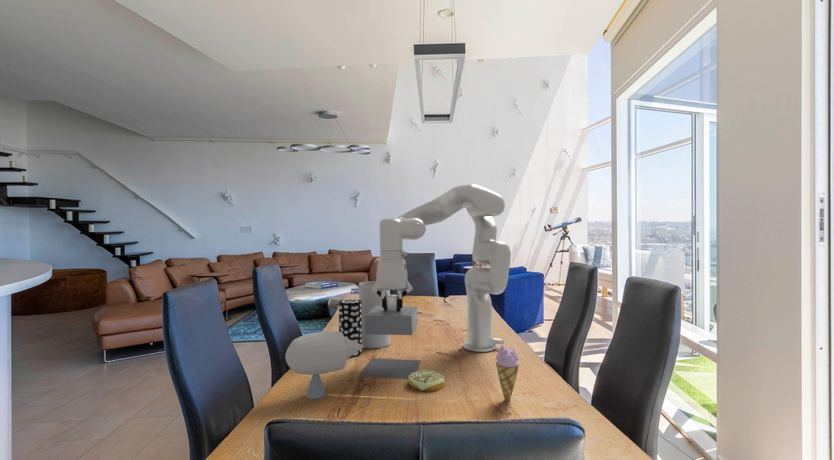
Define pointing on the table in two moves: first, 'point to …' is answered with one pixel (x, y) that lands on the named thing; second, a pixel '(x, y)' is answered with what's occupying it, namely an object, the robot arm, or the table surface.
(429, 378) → the decorated donut
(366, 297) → the cylinder vase
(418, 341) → the table surface
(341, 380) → the table surface
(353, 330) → the spotted tube
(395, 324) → the lid
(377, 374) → the rubber mat
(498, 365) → the ice cream cone
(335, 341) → the jet engine
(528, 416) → the table surface
